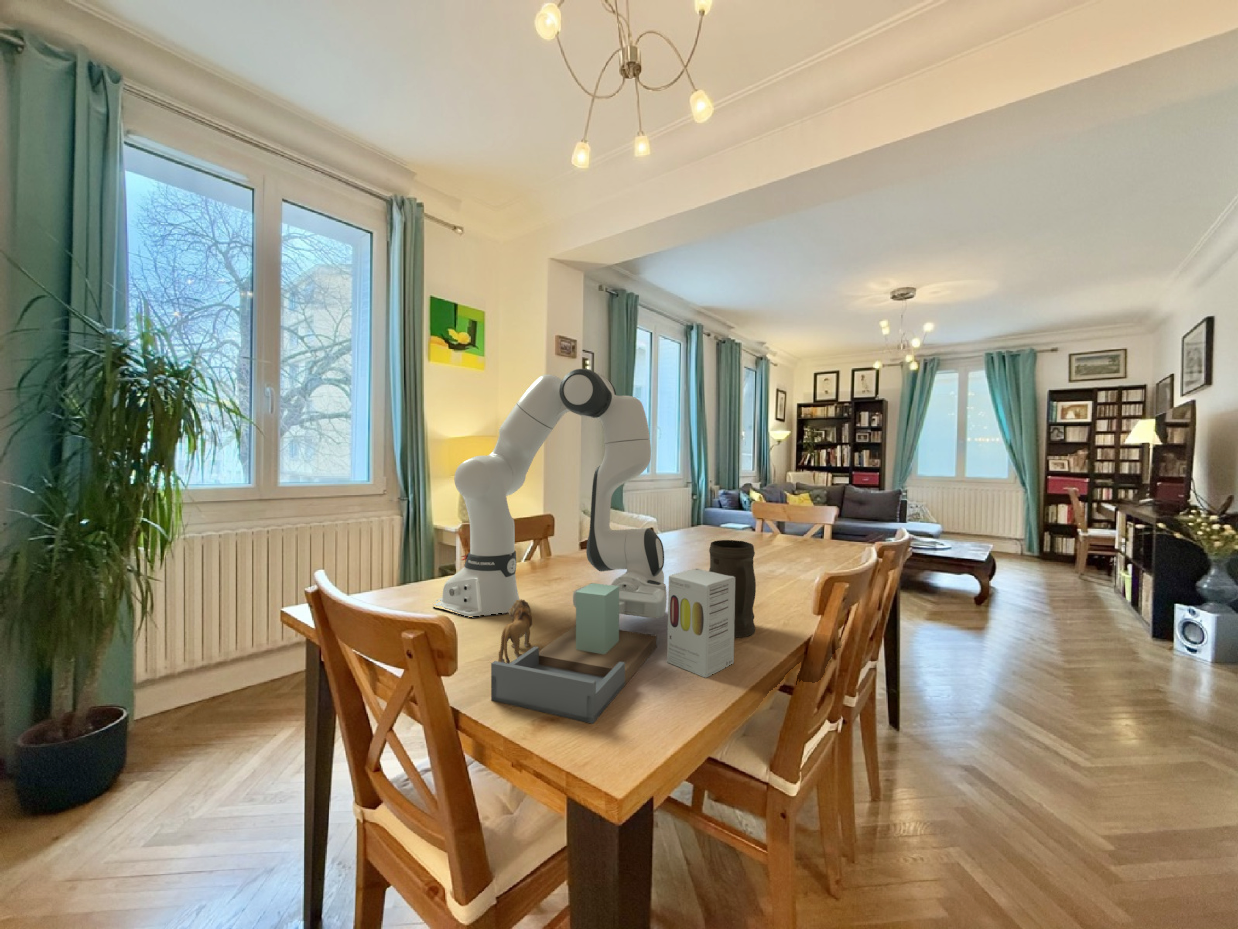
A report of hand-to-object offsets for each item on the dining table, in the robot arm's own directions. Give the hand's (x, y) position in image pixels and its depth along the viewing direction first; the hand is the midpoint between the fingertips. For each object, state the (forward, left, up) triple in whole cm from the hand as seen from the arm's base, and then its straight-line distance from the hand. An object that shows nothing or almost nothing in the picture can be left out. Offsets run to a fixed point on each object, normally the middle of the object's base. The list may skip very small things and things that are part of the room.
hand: (605, 611), depth 100 cm
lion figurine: (-17, -7, -8) cm, 20 cm away
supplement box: (+19, +2, -8) cm, 21 cm away
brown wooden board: (0, -3, -8) cm, 9 cm away
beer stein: (+23, +21, -8) cm, 32 cm away
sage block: (0, -4, -6) cm, 7 cm away
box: (0, -19, -8) cm, 20 cm away
